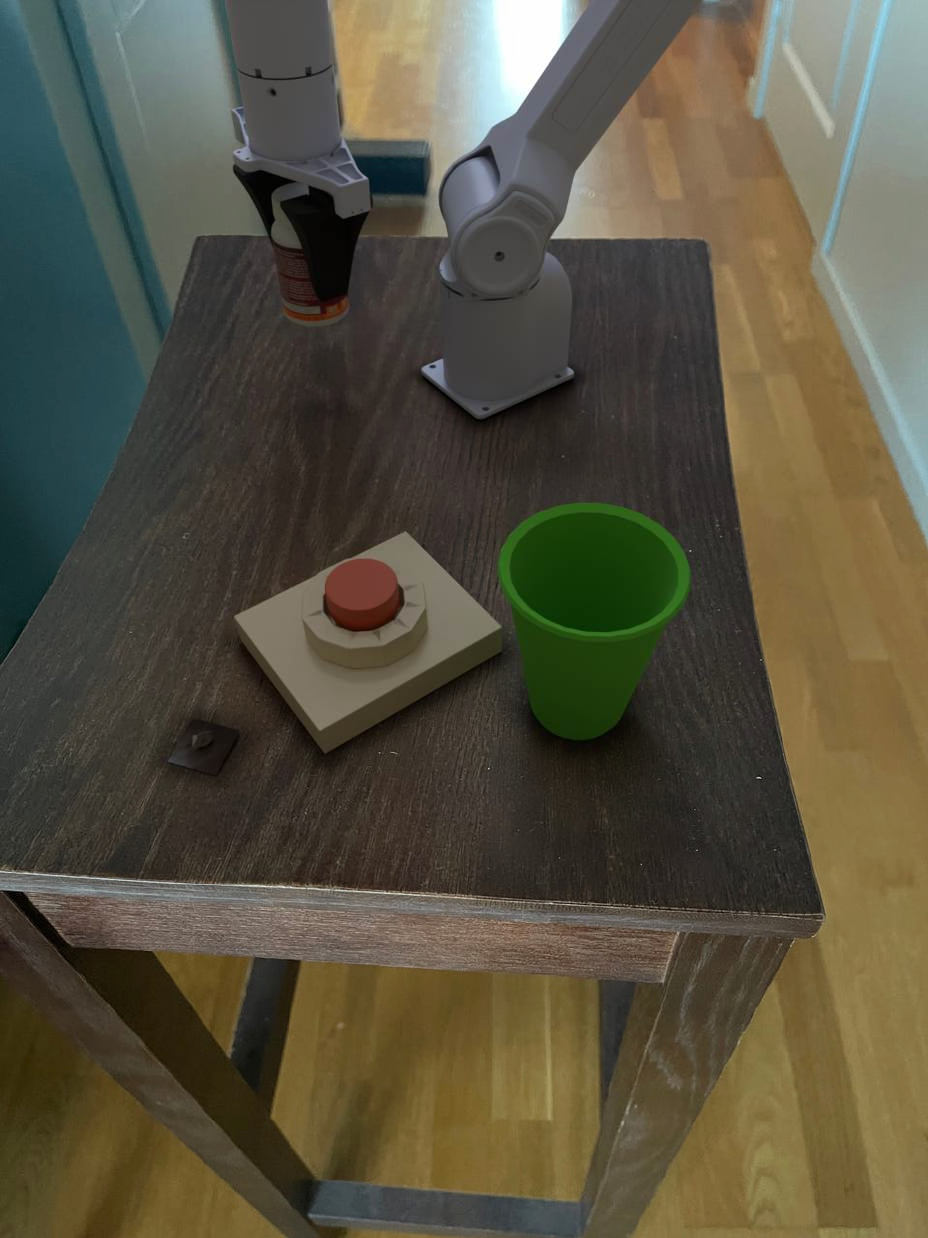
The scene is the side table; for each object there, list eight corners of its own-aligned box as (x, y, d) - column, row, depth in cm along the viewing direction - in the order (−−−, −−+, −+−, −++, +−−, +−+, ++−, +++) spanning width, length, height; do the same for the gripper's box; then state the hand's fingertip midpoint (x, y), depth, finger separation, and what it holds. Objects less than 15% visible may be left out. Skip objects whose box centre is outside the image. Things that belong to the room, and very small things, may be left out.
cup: (540, 621, 55) (550, 479, 47) (682, 680, 52) (720, 539, 44) (465, 728, 50) (461, 591, 42) (617, 801, 47) (646, 668, 39)
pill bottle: (339, 332, 64) (325, 213, 58) (274, 324, 65) (254, 206, 58) (358, 298, 67) (347, 181, 61) (296, 291, 68) (280, 175, 62)
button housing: (408, 555, 59) (403, 509, 56) (502, 651, 54) (503, 605, 51) (240, 640, 55) (226, 594, 52) (324, 754, 49) (314, 711, 46)
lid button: (375, 569, 53) (372, 547, 52) (413, 610, 51) (411, 588, 50) (315, 599, 52) (311, 578, 50) (352, 643, 50) (348, 621, 48)
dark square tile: (216, 776, 48) (209, 765, 47) (167, 761, 49) (160, 751, 48) (240, 730, 50) (234, 719, 49) (193, 717, 51) (186, 706, 50)
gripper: (171, 42, 56) (216, 254, 67) (281, 116, 49) (313, 343, 59) (274, 21, 59) (302, 228, 69) (394, 88, 51) (406, 310, 61)
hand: (313, 279), depth 64 cm, fingers closed on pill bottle, 5 cm apart
